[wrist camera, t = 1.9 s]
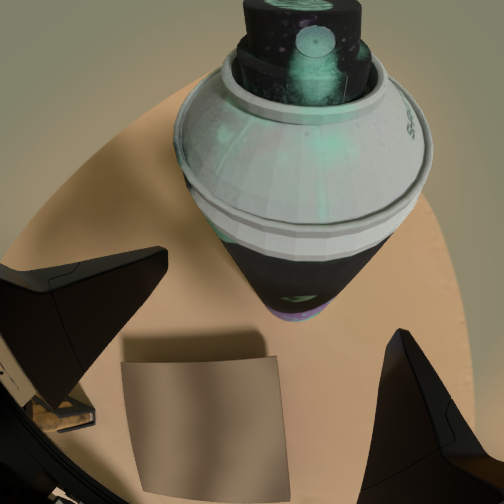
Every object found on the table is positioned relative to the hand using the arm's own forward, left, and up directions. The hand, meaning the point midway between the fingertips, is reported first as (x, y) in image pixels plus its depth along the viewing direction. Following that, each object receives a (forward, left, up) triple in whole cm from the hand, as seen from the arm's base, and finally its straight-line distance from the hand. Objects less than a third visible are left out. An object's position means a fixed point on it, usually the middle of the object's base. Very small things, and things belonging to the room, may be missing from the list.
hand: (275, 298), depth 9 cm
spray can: (+1, +3, -12) cm, 12 cm away
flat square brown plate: (-7, -8, -12) cm, 16 cm away
